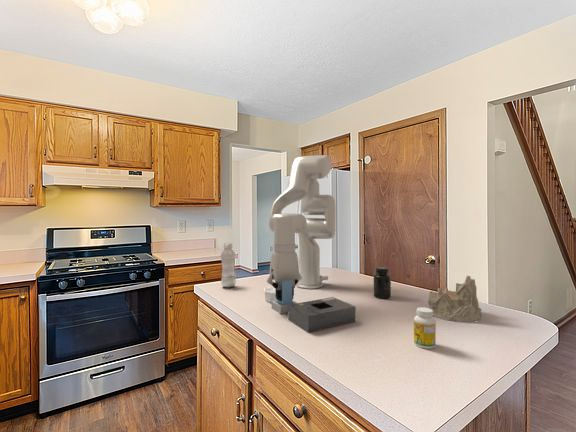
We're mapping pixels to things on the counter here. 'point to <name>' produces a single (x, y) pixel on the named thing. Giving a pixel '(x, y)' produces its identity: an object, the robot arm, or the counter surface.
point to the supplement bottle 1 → (382, 283)
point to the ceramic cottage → (456, 303)
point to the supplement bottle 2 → (424, 328)
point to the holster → (281, 307)
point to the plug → (286, 292)
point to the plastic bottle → (228, 266)
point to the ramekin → (270, 294)
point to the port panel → (321, 314)
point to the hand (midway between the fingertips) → (284, 298)
